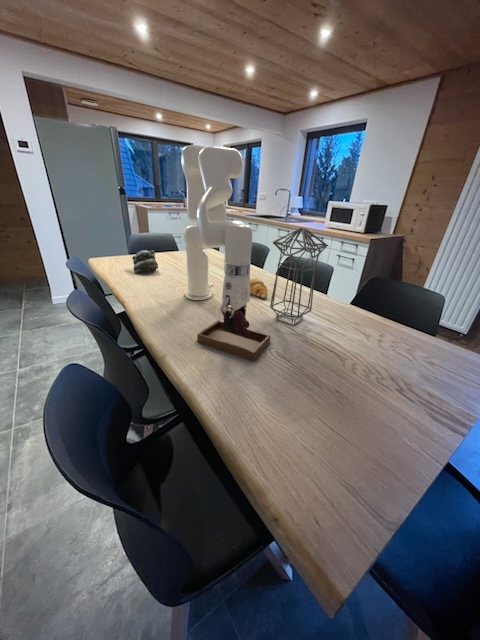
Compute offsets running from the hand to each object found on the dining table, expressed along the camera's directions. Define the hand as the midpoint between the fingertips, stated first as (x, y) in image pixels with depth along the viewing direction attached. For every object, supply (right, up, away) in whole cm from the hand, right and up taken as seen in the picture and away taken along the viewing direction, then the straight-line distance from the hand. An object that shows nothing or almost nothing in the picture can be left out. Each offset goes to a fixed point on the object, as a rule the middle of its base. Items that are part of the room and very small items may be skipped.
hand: (234, 323), depth 85 cm
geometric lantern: (+22, +1, +22) cm, 31 cm away
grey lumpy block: (-55, +30, +72) cm, 96 cm away
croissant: (+9, +15, +48) cm, 51 cm away
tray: (0, -6, +3) cm, 7 cm away
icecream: (0, -2, +1) cm, 2 cm away
